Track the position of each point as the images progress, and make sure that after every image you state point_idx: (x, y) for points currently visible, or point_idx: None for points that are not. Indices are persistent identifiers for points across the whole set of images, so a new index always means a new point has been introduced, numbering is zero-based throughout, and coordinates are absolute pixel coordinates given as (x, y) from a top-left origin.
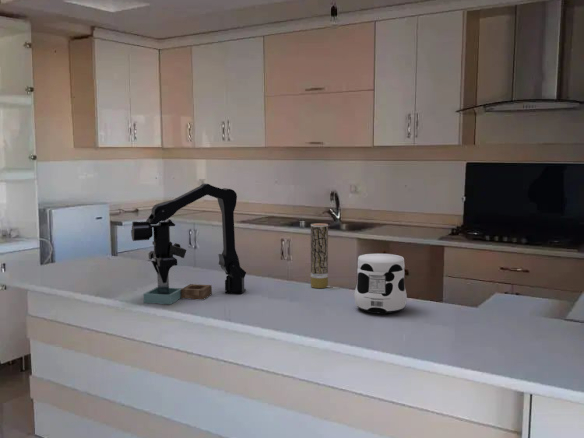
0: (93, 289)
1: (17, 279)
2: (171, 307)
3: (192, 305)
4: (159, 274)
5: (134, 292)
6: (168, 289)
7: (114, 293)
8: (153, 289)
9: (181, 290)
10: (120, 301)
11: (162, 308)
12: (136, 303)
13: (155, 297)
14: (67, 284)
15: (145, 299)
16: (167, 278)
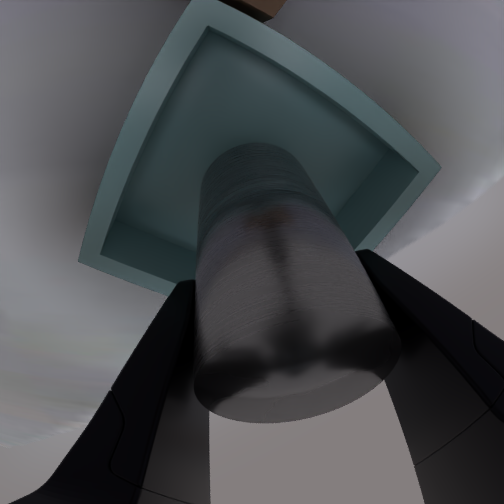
0: (27, 401)
1: (4, 443)
2: (458, 151)
3: (473, 24)
4: (346, 401)
5: (31, 321)
6: (297, 169)
7: (62, 374)
8: (164, 284)
9: (274, 13)
10: None
11: (447, 200)
12: None
13: None
14: (3, 419)
15: None
16: (361, 265)
